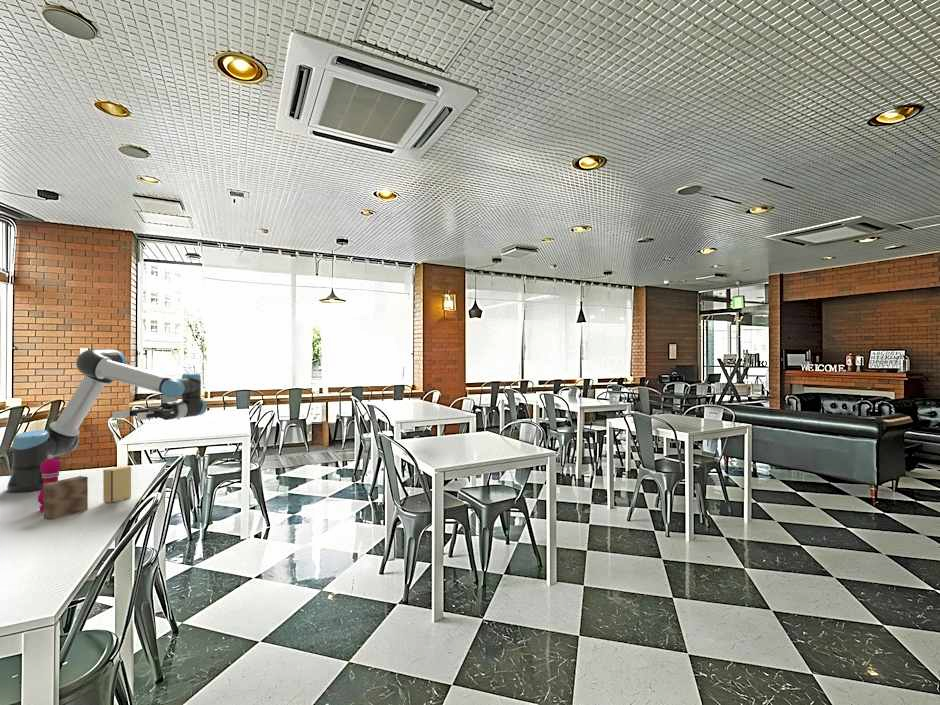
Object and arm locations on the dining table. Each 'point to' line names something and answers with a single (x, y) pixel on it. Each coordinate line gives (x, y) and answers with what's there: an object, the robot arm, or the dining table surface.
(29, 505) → the dining table surface
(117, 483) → the stub
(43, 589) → the dining table surface
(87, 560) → the dining table surface
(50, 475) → the pepper mill
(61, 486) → the block
